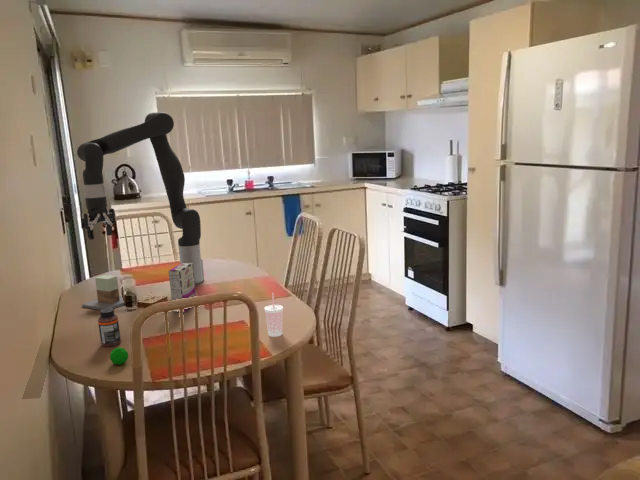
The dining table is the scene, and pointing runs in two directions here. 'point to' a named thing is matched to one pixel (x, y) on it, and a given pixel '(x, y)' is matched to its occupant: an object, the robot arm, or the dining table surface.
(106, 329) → the supplement bottle
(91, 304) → the plate
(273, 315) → the beverage cup
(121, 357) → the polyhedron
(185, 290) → the candy bar box
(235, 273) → the dining table surface
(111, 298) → the walnut brick
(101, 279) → the sage brick
